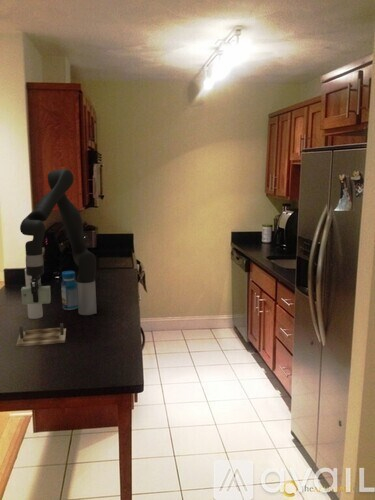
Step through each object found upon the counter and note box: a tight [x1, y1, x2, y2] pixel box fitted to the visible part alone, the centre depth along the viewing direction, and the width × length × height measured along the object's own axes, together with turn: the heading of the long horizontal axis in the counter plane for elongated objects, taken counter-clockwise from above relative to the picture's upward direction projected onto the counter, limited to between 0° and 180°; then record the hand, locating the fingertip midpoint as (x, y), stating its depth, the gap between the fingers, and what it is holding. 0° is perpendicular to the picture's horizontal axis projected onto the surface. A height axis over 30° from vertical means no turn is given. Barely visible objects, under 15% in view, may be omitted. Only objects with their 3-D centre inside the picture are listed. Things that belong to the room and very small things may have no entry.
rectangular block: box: [20, 285, 52, 306], centre depth 199 cm, size 12×6×7 cm, turn 101°
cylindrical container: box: [24, 268, 44, 320], centre depth 222 cm, size 7×7×25 cm
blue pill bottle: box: [60, 270, 78, 311], centre depth 236 cm, size 8×8×20 cm
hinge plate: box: [15, 322, 67, 348], centre depth 196 cm, size 20×14×6 cm
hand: (36, 300), depth 199 cm, fingers closed on rectangular block, 4 cm apart
